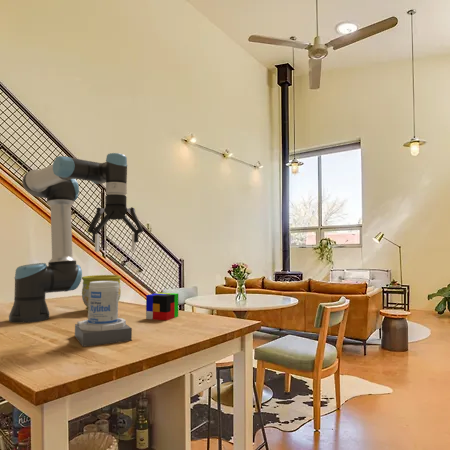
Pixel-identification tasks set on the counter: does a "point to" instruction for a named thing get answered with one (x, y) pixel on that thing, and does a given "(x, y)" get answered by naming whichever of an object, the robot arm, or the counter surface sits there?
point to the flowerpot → (97, 278)
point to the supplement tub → (103, 303)
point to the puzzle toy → (162, 306)
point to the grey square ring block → (102, 333)
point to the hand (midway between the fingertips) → (115, 251)
